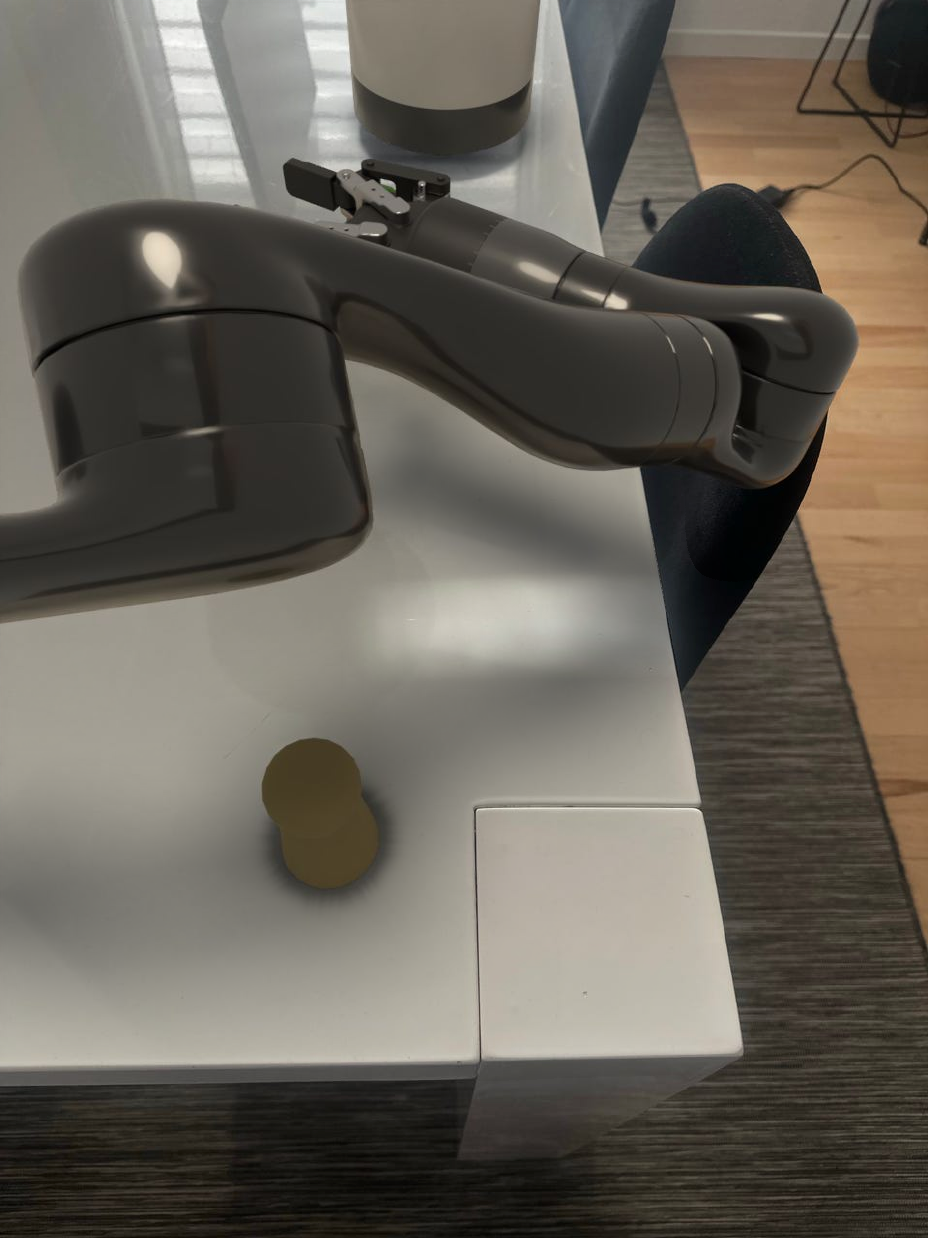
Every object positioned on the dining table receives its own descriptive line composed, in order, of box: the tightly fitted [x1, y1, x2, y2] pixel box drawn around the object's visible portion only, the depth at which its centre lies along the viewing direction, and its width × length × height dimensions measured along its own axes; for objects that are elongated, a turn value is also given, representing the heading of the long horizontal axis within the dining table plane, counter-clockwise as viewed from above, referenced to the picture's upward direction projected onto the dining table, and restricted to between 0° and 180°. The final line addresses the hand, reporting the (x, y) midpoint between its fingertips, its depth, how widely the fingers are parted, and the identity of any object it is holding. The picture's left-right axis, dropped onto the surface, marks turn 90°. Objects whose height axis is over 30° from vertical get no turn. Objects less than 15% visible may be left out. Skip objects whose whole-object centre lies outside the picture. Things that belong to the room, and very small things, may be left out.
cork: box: [261, 737, 380, 890], centre depth 47 cm, size 6×6×11 cm
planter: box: [344, 0, 541, 157], centre depth 86 cm, size 19×19×18 cm
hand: (260, 198), depth 53 cm, fingers open, 5 cm apart
